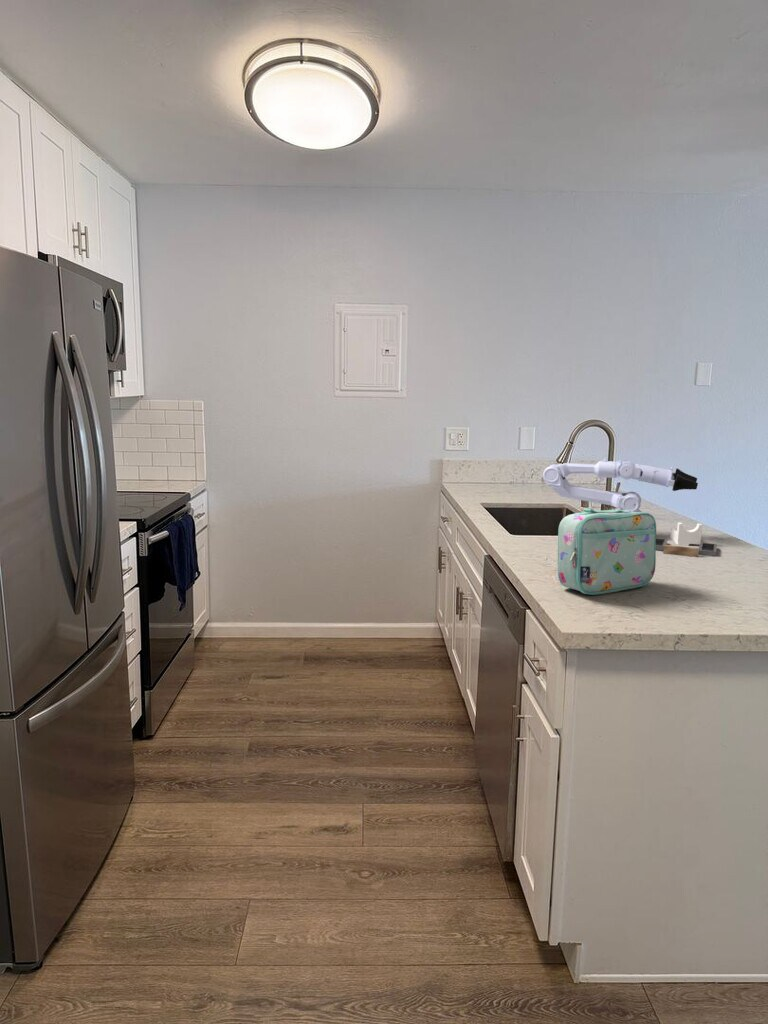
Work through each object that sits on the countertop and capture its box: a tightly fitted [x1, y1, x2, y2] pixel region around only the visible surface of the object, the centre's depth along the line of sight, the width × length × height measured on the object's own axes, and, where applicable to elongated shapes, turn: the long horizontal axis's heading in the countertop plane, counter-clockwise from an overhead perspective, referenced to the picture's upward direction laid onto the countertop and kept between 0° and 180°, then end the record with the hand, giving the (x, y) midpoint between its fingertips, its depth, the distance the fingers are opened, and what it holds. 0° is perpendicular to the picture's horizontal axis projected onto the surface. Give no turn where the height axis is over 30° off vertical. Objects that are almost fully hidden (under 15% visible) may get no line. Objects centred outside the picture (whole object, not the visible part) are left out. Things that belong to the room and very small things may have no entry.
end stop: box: [662, 544, 699, 558], centre depth 210 cm, size 10×2×2 cm, turn 63°
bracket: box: [670, 522, 703, 547], centre depth 229 cm, size 13×7×8 cm, turn 167°
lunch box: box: [557, 507, 657, 596], centre depth 172 cm, size 27×10×21 cm, turn 114°
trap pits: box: [656, 537, 718, 557], centre depth 218 cm, size 20×12×2 cm, turn 63°
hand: (696, 483), depth 225 cm, fingers open, 7 cm apart
